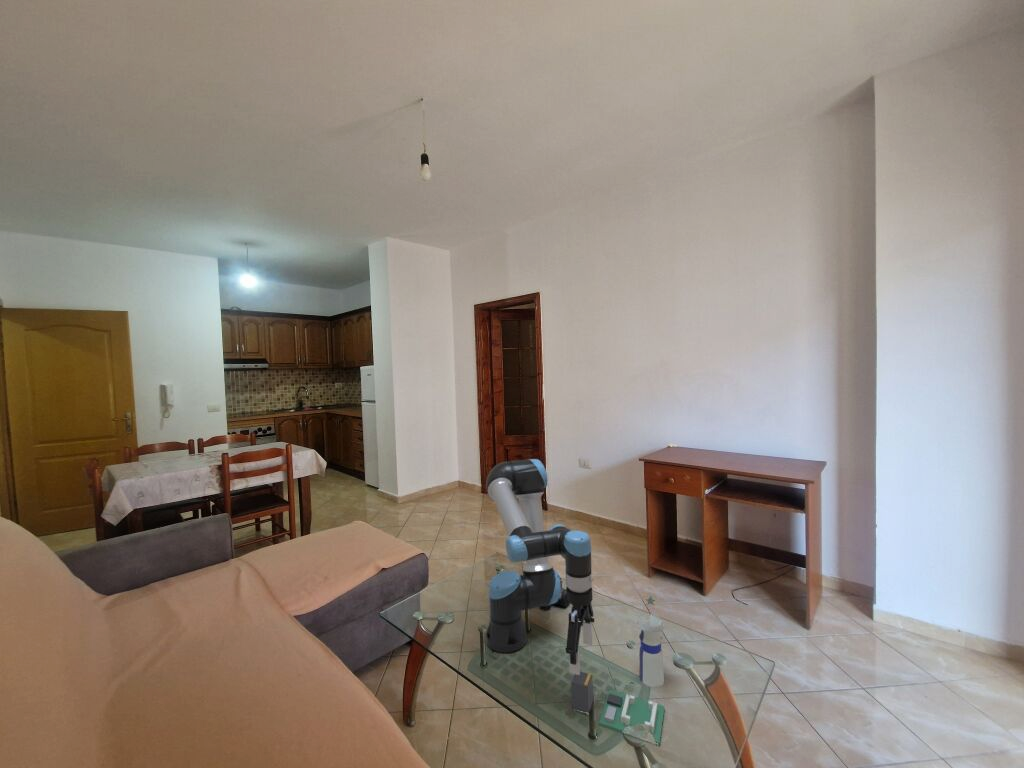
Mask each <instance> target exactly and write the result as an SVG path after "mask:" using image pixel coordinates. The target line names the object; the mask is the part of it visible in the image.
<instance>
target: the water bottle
mask: <svg viewBox="0 0 1024 768" xmlns="http://www.w3.org/2000/svg"><path fill="white" fill-rule="evenodd" d="M644 599H645V600H646V601H647V604H646V605H647V606H648V605H652V606H654V602H655V601H656V599H655V598H653V597H652V596H651V595H650V596H649V597H647V598H646V597H645V598H644ZM635 626H636V628H637V629H638V630H640V632H639V636H638V637H639V639H640V646H639V652H638V653H639V671H638V672H639V673H638V677H639V680H640V681H641V683H643V684H644V685H646V686H647V687H650V688H661V687H663V685H664V684H665V671H664V655H663V654H664V653H663V650H662V642H663V637H662V635H661V632H662V630H664V628H665V625H664V623H663V621H662V618H661V617H659V615H657V614H655V613H650V615H649V619H648V623H647V624H646V621H645V618H644V617H643V614H638V616H637V619H636V625H635Z"/></svg>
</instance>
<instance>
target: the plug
mask: <svg viewBox="0 0 1024 768" xmlns="http://www.w3.org/2000/svg"><path fill="white" fill-rule="evenodd" d="M593 684H594V682H593V674H592V673H587V672H582V671H580V674H579V675H576V674H573V677H572V679H571V681H570V686H571V690H570V692H571V710H572V709H575V710H579V711H583V712H588V713H589V710H590V707H591V704H592V702H593V703H594V686H593ZM589 714H590V713H589Z"/></svg>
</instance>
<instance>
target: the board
mask: <svg viewBox="0 0 1024 768" xmlns="http://www.w3.org/2000/svg"><path fill="white" fill-rule="evenodd" d="M607 693H608V694H607V697H606V698H605V699H606V700H605V702H604V706H603V709H602V712H601V714H600V718H599V723H598V725H599V726H601V727H603V728H606V729H608V730H611V729H612V731H614V730H615V732H618V733H620V734H623V733H622V731H623V730H624V728H625V727H628V726H634V725H635V724H638V723H639V724H644V725H645V729H646V730H647V731H648V732H650V733H651V734H652V735H653V737H654V740H655V742H656V743H658V744H660V745H661V739H660V737H661V736H662V732H663V731H662V730H663V725H662V722H663V723H664V717H663V715H664V716H665V705H662V704H659V703H657V702H654V701H650V700H645V699H641V698H638V697H635V696H634V695H631V694H629V693H622V692H618V691H616V690H612V689H609V690H608V692H607ZM661 731H662V732H661ZM661 738H662V737H661Z"/></svg>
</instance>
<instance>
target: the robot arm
mask: <svg viewBox="0 0 1024 768" xmlns="http://www.w3.org/2000/svg"><path fill="white" fill-rule="evenodd" d="M548 481H549V480H548V474H547V470H546V468H545V466H544V464H543V463H542V461H541V460H539V459H538V458H533V459H532V458H530V459H521V460H510V461H502V462H499V463H497V464H496V465H494V466H493V468H491V470H490V471H489V473H488V474H487V477H486V482H485V488H486V491H487V494H488V496H489V498H491V499H492V500H493V502H494V504H495V507H496V510H497V511H498V513H499V516H500V519H501V522H502V524H503V526H504V528H505V531H506V533H507V536H508V537H507V538H506V539H505V551H506V555H507V558H508V560H509V561H510V562H512V563H518V562H519V563H520V562H525V565H524V566H523V568H522V574H521V575H520V574H519V573H518V572H517V571H513V570H505V571H501V572H499V573H496V574H494V576H493V577H492V578H491V579H489V580H490V581H489V584H488V600H489V601H488V602H489V621H488V626H487V629H486V632H485V643H486V645H487V646H488V647H489V648H490V649H491V650H492V651H496V652H497V653H512V652H515V651H518V650H520V649H522V648H523V647H524V646H525V645H526V643H527V641H528V632H527V628H526V626H525V623H524V621H523V618H522V611H525V610H530V609H536V608H540V607H541V606H548V605H550V604H554V603H556V602H557V601H558V599H559V597H560V592H561V583H560V578H561V577H560V578H559V576H560V575H559V572H558V570H557V569H554V566H553V564H552V563H550V562H549V558H550V557H554V556H561V557H562V558H563V559H564V563H565V585H566V588H565V589H566V595H567V600H568V602H570V603H569V604H571V605H572V606H571V612H569V613H568V627H567V636H566V637H567V638H566V647H565V653H566V654H568V663H569V673H571V674H572V675H574V674H576V675H579V674H580V672H581V668H580V667H581V665H580V650H579V644H580V637H581V632H582V643H583V644H584V645H588V646H592V645H593V627H592V625H593V623H595V618H594V610H593V605H592V601H593V586H592V585H593V584H592V583H593V581H594V577H593V576H592V574H593V573H592V544H591V536H590V535H589V534H588V533H587V532H586V531H582V530H571V529H570V528H568V527H567V526H565V525H564V524H559V523H557V524H554V525H553V526H552V527H550V528H549V529H548V530H545V523H544V513H543V506H542V499H541V498H542V496H543V494H544V493H545V492H544V489H545V488H546V487H547V486H548ZM517 499H518V500H517ZM581 630H582V631H581Z"/></svg>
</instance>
